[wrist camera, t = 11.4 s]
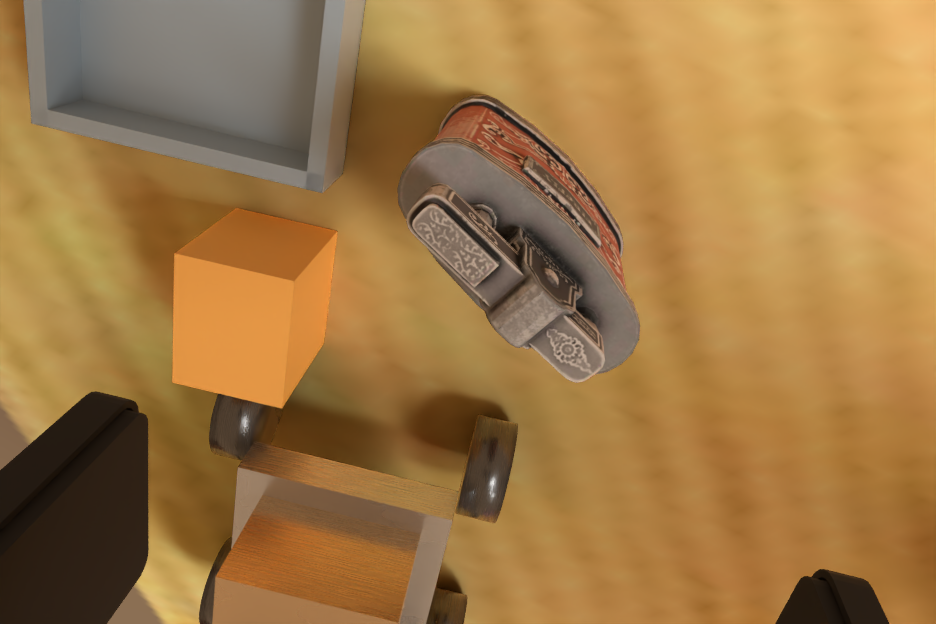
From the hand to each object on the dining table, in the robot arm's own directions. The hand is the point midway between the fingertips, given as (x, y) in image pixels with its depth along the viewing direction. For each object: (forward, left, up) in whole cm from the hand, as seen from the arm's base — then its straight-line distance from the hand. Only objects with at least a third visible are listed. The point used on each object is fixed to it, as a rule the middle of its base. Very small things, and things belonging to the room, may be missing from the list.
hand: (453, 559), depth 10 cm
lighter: (0, 0, -18) cm, 18 cm away
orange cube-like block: (+9, +6, -18) cm, 21 cm away
